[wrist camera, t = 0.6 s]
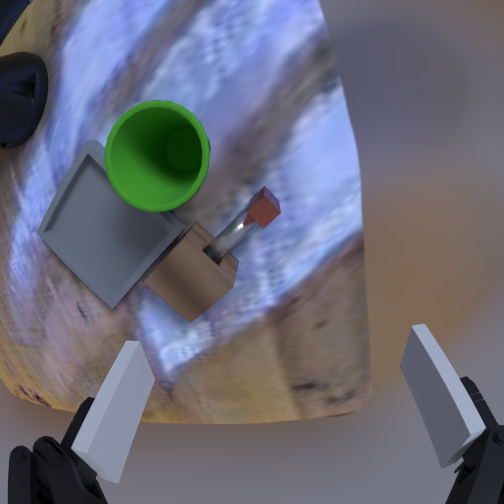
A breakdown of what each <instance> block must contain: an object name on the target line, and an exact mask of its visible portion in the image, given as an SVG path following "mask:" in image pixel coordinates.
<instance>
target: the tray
mask: <svg viewBox="0 0 504 504" xmlns="http://www.w3.org/2000/svg"><path fill="white" fill-rule="evenodd" d="M104 154H105V148H104V147H103V146H102V145H101V144H100V143H99V142H98V141H97V140H95V141H87V143H86V144H85V146H84V147H83V149H82V150H81V152H80V154H79V155H78V157H77V158H76V160H75V162H74V163H73V165H72V167H71V168H70V170H69V172H68V173H67V175H66V177H65V178H64V180H63V182H62V184H61V186H60V187H59V189H58V191H57V193H56V195H55V197H54V199H53V200H52V202H51V204H50V206H49V208H48V210H47V212H46V214H45V216H44V218H43V221H42V223H41V225H40V227H39V229H38V231H37V233H38V234H39V236H40V237H41V238H42V239H43V240H44V241H45V242H46V244H47V245H48V246H49V247H50V248H51V249H52V250H53V251H54V252H55V253H56V255H57V256H58V257H59V258H60V259H61V260H62V261H63V262H64V263H65V264H66V265H67V266H68V267H69V268H70V269H71V270H72V271H73V272H74V273H75V274H76V275H77V276H78V277H79V278H80V279H81V280H82V281H83V282H84V283H85V284H86V285H87V286H88V287H89V288H90V289H91V290H92V291H93V292H94V293H95V294H96V295H97V296H98V297H99V298H100V299H102V300H103V301H104V302H105V303H106V304H107V305H108V306H109V307H110V308H111V309H113V308H114V307H115V306H116V305H117V303H118V302H119V301H120V300H121V299H122V298H123V296H124V295H125V294H126V293H127V292H128V291H129V289H130V288H131V287H132V286H133V285H134V284H135V282H136V281H137V280H138V279H139V278H140V277H141V276H142V275H143V273H144V272H145V271H146V270H147V269H148V268H149V267H150V266H151V264H152V263H153V262H154V261H155V260H156V259H157V258H158V257H159V256H160V254H161V253H162V252H163V251H164V250H165V249H166V248H167V247H168V246H169V245H170V244H171V242H172V241H173V240H174V239H175V238H176V237H177V236H178V235H179V234H180V233H181V232H182V230H183V229H184V228H185V226H184V225H183V224H182V223H181V222H180V221H179V220H178V219H177V218H176V217H175V216H174V215H173V214H172V213H171V212H170V211H166V212H147V211H143V210H139V209H137V208H135V207H133V206H131V205H129V204H128V203H126V202H125V201H124V200H123V199H122V198H120V197H119V196H118V194H117V193H116V192H115V190H114V189H113V188H112V186H111V184H110V181H109V179H108V177H107V174H106V169H105V164H104Z"/></svg>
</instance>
